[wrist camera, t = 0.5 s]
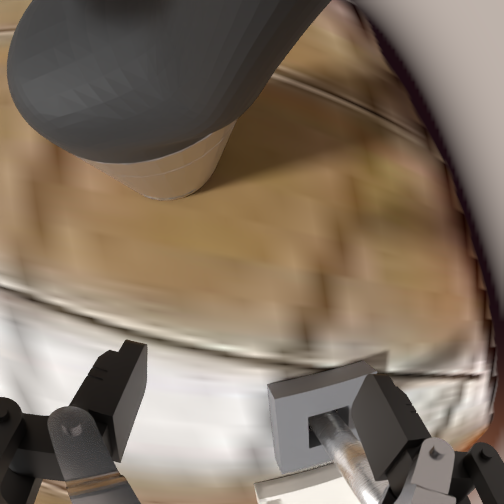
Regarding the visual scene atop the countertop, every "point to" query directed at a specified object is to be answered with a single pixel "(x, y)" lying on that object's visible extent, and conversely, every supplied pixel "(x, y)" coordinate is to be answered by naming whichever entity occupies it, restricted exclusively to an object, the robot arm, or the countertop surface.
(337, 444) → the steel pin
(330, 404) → the block
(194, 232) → the countertop surface
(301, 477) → the tray
